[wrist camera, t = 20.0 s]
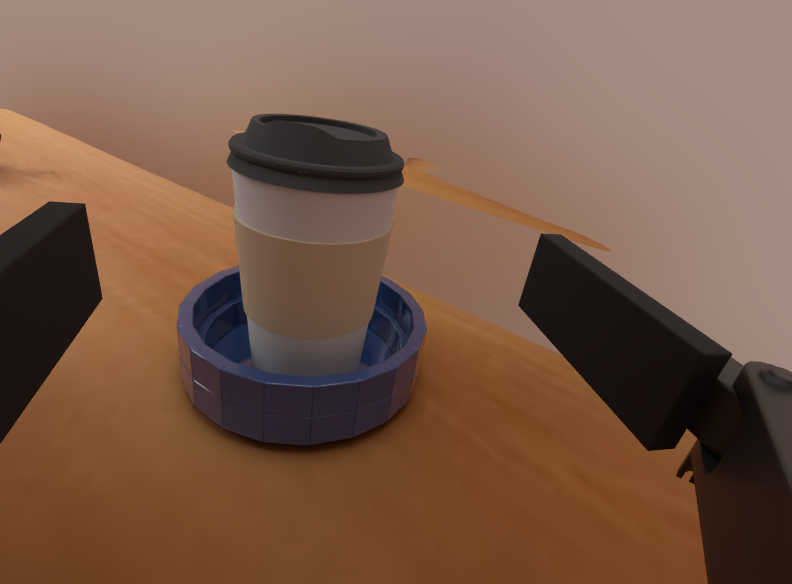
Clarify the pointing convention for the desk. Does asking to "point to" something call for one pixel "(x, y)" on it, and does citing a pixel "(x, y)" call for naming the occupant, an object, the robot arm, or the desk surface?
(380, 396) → the bowl
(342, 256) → the coffee cup
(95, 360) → the desk surface
